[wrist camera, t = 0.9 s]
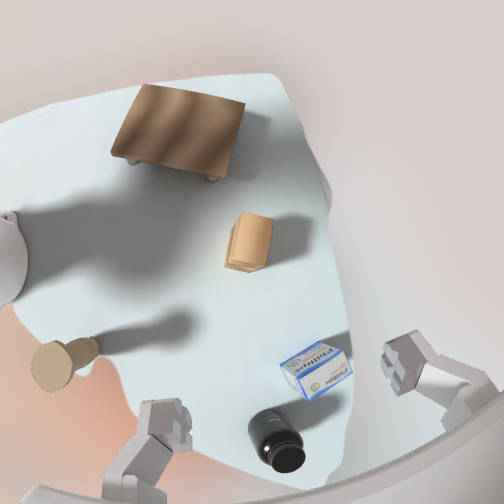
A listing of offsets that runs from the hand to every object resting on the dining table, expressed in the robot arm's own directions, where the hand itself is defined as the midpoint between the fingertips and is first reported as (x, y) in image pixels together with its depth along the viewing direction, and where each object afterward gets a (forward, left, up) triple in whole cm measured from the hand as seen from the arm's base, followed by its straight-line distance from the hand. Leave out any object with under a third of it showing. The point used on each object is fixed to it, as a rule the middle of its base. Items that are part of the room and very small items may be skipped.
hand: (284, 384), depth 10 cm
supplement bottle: (+12, -17, -34) cm, 40 cm away
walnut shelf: (-12, +27, -33) cm, 44 cm away
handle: (-18, -9, -33) cm, 39 cm away
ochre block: (+2, +11, -33) cm, 35 cm away
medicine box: (+16, -5, -34) cm, 38 cm away
